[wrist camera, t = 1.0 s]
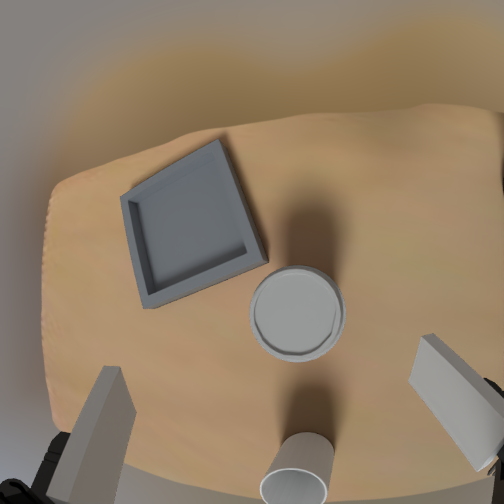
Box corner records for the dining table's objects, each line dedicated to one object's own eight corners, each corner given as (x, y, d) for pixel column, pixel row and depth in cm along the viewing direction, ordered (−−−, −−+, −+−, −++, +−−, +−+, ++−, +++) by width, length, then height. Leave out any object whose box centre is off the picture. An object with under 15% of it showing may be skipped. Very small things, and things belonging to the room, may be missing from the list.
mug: (281, 428, 37) (260, 463, 27) (337, 432, 34) (331, 470, 24) (277, 490, 35) (257, 529, 25) (327, 494, 32) (318, 536, 22)
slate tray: (225, 147, 46) (218, 138, 43) (268, 262, 41) (262, 259, 38) (130, 201, 51) (119, 196, 48) (154, 308, 46) (143, 308, 43)
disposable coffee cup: (312, 359, 37) (297, 384, 26) (260, 312, 40) (226, 317, 29) (361, 305, 36) (367, 309, 25) (306, 259, 39) (289, 242, 28)
